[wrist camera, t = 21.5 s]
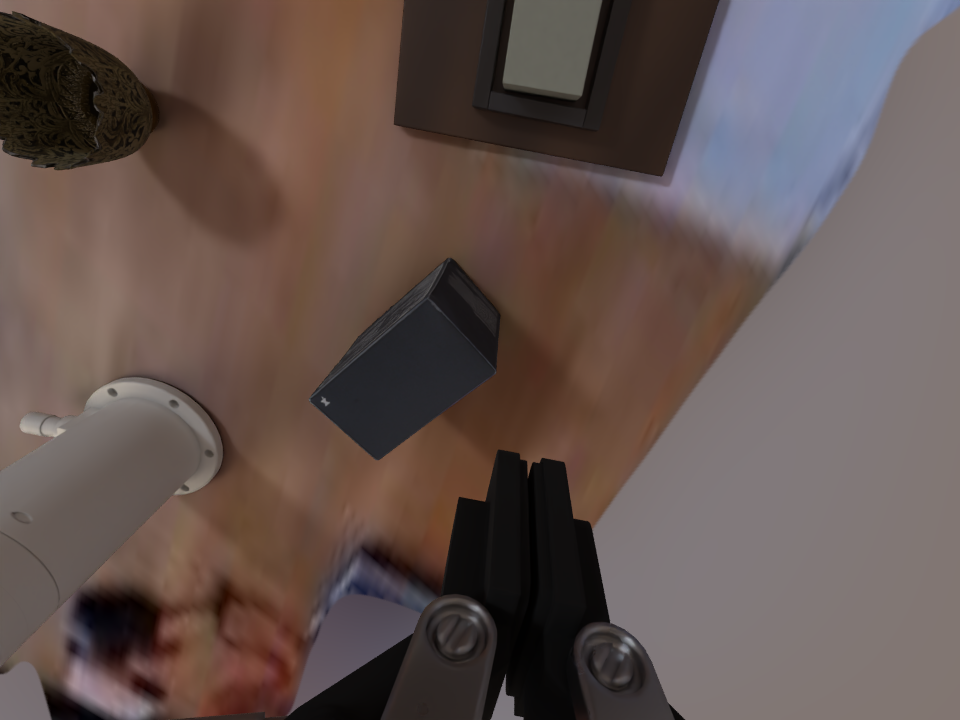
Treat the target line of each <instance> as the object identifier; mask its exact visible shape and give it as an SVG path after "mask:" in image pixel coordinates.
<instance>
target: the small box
mask: <svg viewBox="0 0 960 720" xmlns="http://www.w3.org/2000/svg"><path fill="white" fill-rule="evenodd" d="M499 326H500V313H499V312H498V311H497V310H496V309H495V307H494V306H493V305H492V304H491V303H490V301H489V300H488V299H487V298H486V297H485V296H484V294H483V293H482V292H481V291H480V290H479V289H478V287H477V286H476V285H475V284H474V283H473V282H472V281H471V279H470V278H469V277H468V276H467V275H466V274H465V272H464V271H463V270H462V269H461V268H460V267H459V266H458V264H457V263H456V262H455V261H454V260H453V259H452V258H447V259H446V260H445V261H444V262H443V263H442V264H441V265H439V266H438V267H437V268H436V269H435V270H434V271H432V272H431V273H430V274H429V275H428V276H427V277H426V278H425V279H423V280H422V281H421V282H420V283H419V284H417V285H416V286H415V287H414V288H413V289H412V290H411V291H410V292H408V293H407V294H406V295H405V296H404V297H403V298H402V299H400V300H399V301H398V302H397V303H396V304H395V305H393V306H391V307H390V309H389V310H388V311H386V312H385V313H384V314H383V315H382V316H381V317H380V318H378V319H377V320H376V321H375V322H374V323H373V324H372V325H371V326H370V327H369V328H367V329H366V330H365V331H364V332H363V333H362V334H361V335H359V336H358V338H357V339H356V341H355V342H354V343H353V344H352V346H351V347H350V349H349V350H348V351H347V353H346V354H345V355H344V356H343V358H342V359H341V360H340V362H339V363H338V364H337V365H336V366H335V367H334V368H333V370H332V371H331V372H330V374H329V375H328V376H327V377H326V378H325V379H324V381H323V382H322V383H321V384H320V385H319V387H318V388H317V389H316V390H315V392H314V393H313V394H312V395H311V397H310V398H309V401H310V403H311V404H313V405H314V406H315V407H316V408H317V409H318V410H320V411H321V412H322V413H323V414H324V415H325V416H326V417H328V418H329V419H330V420H331V421H332V422H333V423H334V424H335V425H337V426H338V427H339V428H340V429H341V430H342V431H343V432H345V433H346V434H347V435H348V436H349V437H350V438H351V439H352V440H354V441H355V442H356V443H357V444H358V445H359V446H360V447H361V448H363V449H364V450H365V451H366V452H367V453H368V454H369V455H371V456H372V457H373V458H374V459H375V460H380V459H381V458H382V457H384V456H385V455H386V454H388V453H389V452H390V451H392V450H393V449H394V448H396V447H397V446H398V445H400V444H401V443H402V442H404V441H405V440H406V439H408V438H409V437H410V436H412V435H413V434H414V433H416V432H417V431H418V430H420V429H421V428H422V427H424V426H425V425H426V424H428V423H429V422H430V421H432V420H433V419H435V418H436V417H437V416H439V415H440V414H441V413H443V412H444V411H445V410H447V409H448V408H449V407H451V406H452V405H454V404H455V403H456V402H458V401H459V400H460V399H462V398H463V397H464V396H466V395H467V394H469V393H470V392H471V391H473V390H474V389H475V388H477V387H478V386H480V385H481V384H482V383H484V382H485V381H486V380H488V379H489V378H491V377H492V376H493V375H495V374H496V368H497V351H498V338H499Z"/></svg>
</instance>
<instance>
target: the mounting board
mask: <svg viewBox="0 0 960 720" xmlns="http://www.w3.org/2000/svg"><path fill="white" fill-rule="evenodd" d="M514 2H515V0H404V9H403V21H402V33H401V45H400V57H399V69H398V81H397V93H396V104H395V116H394V124H395V125H398V126H403V127H408V128H413V129H418V130H423V131H429V132H434V133H439V134H444V135H449V136H454V137H460V138H465V139H470V140H475V141H480V142H485V143H491V144H496V145H501V146H506V147H511V148H516V149H522V150H527V151H532V152H537V153H542V154H547V155H553V156H558V157H563V158H568V159H573V160H578V161H583V162H589V163H594V164H599V165H604V166H609V167H614V168H620V169H625V170H630V171H635V172H640V173H645V174H651V175H656V176H663V174H664V171H665V167H666V164H667V161H668V158H669V155H670V152H671V149H672V146H673V143H674V139H675V136H676V133H677V130H678V127H679V124H680V121H681V118H682V115H683V111H684V108H685V105H686V102H687V99H688V96H689V93H690V90H691V86H692V83H693V80H694V77H695V74H696V71H697V68H698V65H699V62H700V58H701V55H702V52H703V49H704V46H705V43H706V40H707V37H708V34H709V30H710V27H711V24H712V21H713V18H714V15H715V12H716V9H717V6H718V2H719V0H602V5H601V9H600V14H599V19H598V23H597V28H596V33H595V37H594V42H593V47H592V51H591V56H590V61H589V65H588V70H587V75H586V79H585V84H584V89H583V93H582V96H581V97H580V98H579V99H578V100H577V101H575V102H569V101H563V100H557V99H551V98H545V97H539V96H533V95H527V94H521V93H515V92H509V91H505V90H504V86H503V76H504V69H505V62H506V56H507V49H508V42H509V35H510V29H511V22H512V15H513V8H514Z"/></svg>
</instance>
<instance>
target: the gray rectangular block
mask: <svg viewBox="0 0 960 720" xmlns="http://www.w3.org/2000/svg"><path fill="white" fill-rule="evenodd" d="M601 5H602V0H515V2H514V8H513V15H512V22H511V29H510V35H509V42H508V49H507V56H506V62H505V69H504V76H503V86H504V90H505V91H509V92H515V93H521V94H527V95H533V96H539V97H545V98H551V99H557V100H563V101H569V102H575V101H577V100H578V99H579V98H580V97H581V96H582V93H583V89H584V84H585V79H586V75H587V70H588V65H589V61H590V56H591V51H592V47H593V42H594V37H595V33H596V28H597V23H598V19H599V14H600V9H601Z"/></svg>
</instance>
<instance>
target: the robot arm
mask: <svg viewBox="0 0 960 720" xmlns="http://www.w3.org/2000/svg"><path fill="white" fill-rule="evenodd" d="M20 429H21V430H22V431H23V432H24V433H29V434H34V435H40V436H46V437H48V436H51V437H54V438H53V439H52V440H50V441H48V442H47V443H45V444H43V445H42V446H40V447H39V448H37V449H35V450H34V451H32V452H31V453H29V454H27V455H26V456H24V457H22V458H21V459H19V460H18V461H16V462H14V463H13V464H11V465H9V466H8V467H6V468H5V469H3V470H1V471H0V667H1V666H2V665H3V664H4V663H5V662H6V661H7V660H8V659H9V658H10V657H11V655H12V654H13V653H14V652H15V651H16V650H17V649H18V648H19V647H20V646H21V645H22V644H23V643H24V642H25V641H26V640H27V639H28V638H29V637H30V636H31V635H32V634H33V633H34V632H35V631H36V630H37V629H38V628H39V627H40V626H41V625H42V624H43V623H44V622H45V621H46V620H47V619H48V618H49V617H50V616H51V615H52V614H53V613H54V612H55V611H56V610H57V609H58V608H59V607H60V606H61V605H62V604H63V603H64V602H66V601H67V600H68V599H69V598H70V597H71V596H72V595H73V594H74V593H75V592H76V591H77V590H78V589H79V588H80V587H81V586H82V585H83V584H84V583H85V582H86V581H87V580H88V579H89V578H90V577H91V576H92V575H93V574H94V573H95V572H96V571H97V570H98V569H99V568H100V567H101V566H102V565H103V564H104V563H105V562H106V561H107V560H108V559H109V558H110V557H111V556H112V555H113V554H114V553H115V552H116V551H117V550H118V549H119V548H120V547H121V546H122V545H123V544H124V543H125V542H126V541H127V540H128V539H129V538H130V537H131V536H132V535H133V534H134V533H135V532H136V531H137V530H138V529H139V528H140V527H141V526H142V525H143V524H144V523H145V522H146V521H147V520H148V519H149V518H150V517H151V516H152V515H153V514H154V513H155V512H156V511H157V510H158V509H159V508H160V507H161V506H162V505H163V504H164V503H165V502H166V501H167V500H168V499H169V498H170V497H171V496H172V495H184V494H188V493H193V492H195V491H197V490H199V489H201V488H203V487H204V486H205V485H206V484H208V483H209V482H210V481H211V480H212V478H213V477H214V476H215V475H216V474H217V472H218V470H219V469H220V467H221V463H222V459H223V446H222V442H221V438H220V435H219V433H218V430H217V428H216V426H215V424H214V423H213V421H212V420H211V418H210V417H209V416H208V414H207V413H206V412H205V411H204V410H203V409H202V408H201V407H200V405H199V404H197V403H196V402H195V401H194V400H192V399H191V398H190V397H189V396H188V395H186V394H184V393H183V392H181V391H179V390H178V389H176V388H174V387H172V386H170V385H167V384H165V383H163V382H159V381H156V380H152V379H148V378H139V377H130V378H121V379H118V380H114V381H112V382H110V383H108V384H106V385H104V386H102V387H101V388H99V389H98V390H97V391H95V392H94V393H93V394H92V395H91V396H90V398H89V399H88V401H87V402H86V405H85V408H84V412H83V413H82V414H80V415H78V416H73V415H68V416H65V417H63V418H60V417H57V416H55V415H51V414H45V413H40V412H30V413H28V414H26V415H25V416H24V417H23V418H22V420H21V423H20ZM505 674H506V694H507V695H508V696H513V697H514V715H515V716H520V717H524V720H685V719H684V718H683V717H682V716H681V715H680V714H679V713H678V712H677V711H676V710H675V709H674V708H673V707H672V706H671V705H670V704H669V703H668V702H667V699H666V697H665V694H664V692H663V689H662V687H661V684H660V682H659V679H658V677H657V674H656V672H655V669H654V666H653V664H652V661H651V660H650V658H649V656H648V654H647V653H646V650H645V649H644V647H643V646H642V645H641V644H640V643H639V641H638V640H637V639H636V638H635V637H634V636H632V635H631V634H630V633H628V632H627V631H626V630H625V629H622V628H621V627H618V626H616V625H614V624H611V623H610V619H609V614H608V609H607V604H606V599H605V594H604V588H603V583H602V578H601V573H600V568H599V563H598V558H597V553H596V548H595V542H594V537H593V532H592V528H591V524H590V523H589V522H588V521H583V520H578V519H573V513H572V507H571V500H570V493H569V487H568V480H567V473H566V467H565V463H564V462H561V461H556V460H551V459H546V458H542V459H541V461H540V463H535V462H533V463H532V466H531V469H530V473H529V476H528V471H527V461H525V460H520V454H519V453H514V452H509V451H504V450H498V451H497V454H496V458H495V463H494V467H493V471H492V476H491V480H490V484H489V488H488V493H487V497H486V501H485V502H483V501H478V500H473V499H467V498H462V497H459V499H458V504H457V509H456V514H455V519H454V524H453V529H452V535H451V540H450V545H449V551H448V556H447V562H446V568H445V574H444V579H443V585H442V591H441V597H440V598H437V599H435V600H433V601H432V602H431V603H430V604H429V605H428V606H426V607H425V609H424V611H423V613H422V614H421V616H420V618H419V620H418V623H417V626H416V628H415V631H414V633H413V634H411V635H410V636H408V637H407V638H405V639H404V640H402V641H400V642H399V643H397V644H396V645H394V646H393V647H391V648H390V649H388V650H387V651H385V652H384V653H382V654H380V655H379V656H377V657H376V658H374V659H373V660H371V661H370V662H368V663H367V664H365V665H363V666H362V667H360V668H359V669H357V670H356V671H354V672H352V673H351V674H349V675H348V676H346V677H345V678H343V679H342V680H340V681H339V682H337V683H336V684H334V685H333V686H331V687H330V688H328V689H326V690H325V691H323V692H322V693H320V694H318V695H317V696H315V697H314V698H312V699H311V700H309V701H308V702H306V703H304V704H303V705H301V706H300V707H298V708H297V709H296V710H295V711H294V712H292V713H291V714H290V715H289V716H281V717H269V718H265V712H258V713H246V714H234V715H221V716H209V717H197V718H185V719H172V720H490V719H491V717H492V714H493V711H494V708H495V705H496V702H497V699H498V696H499V693H500V690H501V687H502V684H503V680H504V678H505Z"/></svg>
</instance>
